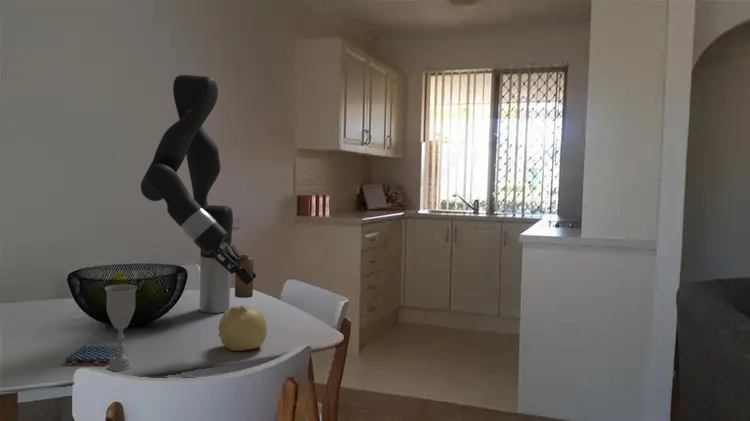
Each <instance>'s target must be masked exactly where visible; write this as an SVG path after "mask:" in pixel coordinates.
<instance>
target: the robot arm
mask: <svg viewBox="0 0 750 421" xmlns="http://www.w3.org/2000/svg"><path fill="white" fill-rule="evenodd" d="M172 92H173V101H174V104H175V108H176V113H177V115H178V118H179V120H177V121H176V122H175V123H173V124H172V125H170V126H169V127H168V128H167V130H166V131H165V132H164V134H163V135H162V138H160V141H159V144H158V146H157V148H156V151H155V154H154V156H153V160H152V161H151V163H150V165H149V166H148V168H147V171H146V172H145V174H144V176H143V178H142V180H141V182H140V190H141V193H142V196H144V198H146V199H147V200H148V201H153V202H159V201H162V200H164V201H165V203H166V210H167V213H168V215H169V217H170V218H171V219H172V220H174V222H176V224H178V226H179V227H180V228H181V229H182V230H183V232H184V234H186V235H187V237H188V238H189V239H190V240H191V241H192V242H193V243H194V244H195V245H196V246H197V248H199V249H200V255H199V256H200V258H199V259H200V261H199V264H200V265H199V266H200V267H199V268H200V269H199V311H200V312H202V313H207V314H210V313H211V314H217V313H218V314H219V313H224V312H225V311H228V310H230V300H231V298H230V296H231V275H236V274H237V276H238V277H239V278H240V279H241V280H242V281H243V282H244V283H245V284H246V285H248V284H249V283H250V282H251V281H252V280H253V281H254V279H255V278H256V277H257V274H256V273H255V271H253V278H252V277H251V275H250V274H249V273H248V272H247V271H246V270H245V269H244V268H243V267H242V265H241V264H240V263H239V262H238V258H240V257H241V253H240V251H239V249H237V248H236V246H235V245H233V244H232V237H233V223H234V216H233V215H234V214H233V209H232V208H231V207H230V206H228V205H215V204H214V205H211V204H209V203H208V195H209V193H210V190H211V189H212V186H213V185H214V183H215V182H216V181H217V179H218V176H219V174H220V172H221V160H220V154H219V153H220V152H219V148H218V146H217V144H216V143H215V141H214V140H213V138H212V137H211V135H210V134H209V133H208V132H207V131H206V130H205V128H203V124H204V123H205V122H206V120H207V118H208V117H209V115H210V114H211V113H212V111H213V110H214V108H215V106H216V103H217V100H218V96H219V89H218V84H217V82H216V80H215V79H214V78H213V77H211V76H206V75H191V74H179V75H177V76H176V77H175V78H174V80H173V87H172ZM185 158H186V161H187V162H186V163H187V167H188V172H189V178H190V182H191V188H192V195H193V197H192V195H191V194H190V193H189V190H188V189H187V187H186V185H185V184H184V182H183V180H182V179H181V177H180V176H179V175H178V173H177V172H178V170H179V169H180V167H181V166H182V164H183V162H184V160H185ZM242 268H243V269H242Z"/></svg>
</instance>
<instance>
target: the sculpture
mask: <svg viewBox="0 0 750 421" xmlns="http://www.w3.org/2000/svg"><path fill="white" fill-rule="evenodd" d="M217 329H218V332H219V333H218V337H219V338H220V341H221V343H222V344H223V346H224V347H226V349H228V350H230V351H235V352H239V351H240V352H241V351H246V350H247V351H248V350H252V349H257V348H259V347H261V346H262V345H263V344H264V342H265V339H266V338H267V334H268V333H267V332H268V324H267V320H266V318H265V317H264V315H263V314H262V312H261V311H259V310H258V309H256V308H254V307H249V306H247V305H246V304H242V305H239V306H232V307H229V310H228V311H225V312H223V316H222V317H220V320H219V324H218V327H217Z"/></svg>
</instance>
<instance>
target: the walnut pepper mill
mask: <svg viewBox="0 0 750 421" xmlns="http://www.w3.org/2000/svg"><path fill="white" fill-rule="evenodd" d="M240 254H241V253H240ZM254 260H255V258H253V257H249V253H247V254H246V253H242V254H241V257H240V258H238V262H239V263H240V264H241V265H242V267H243V268H244V269H245V270H246V271H247V272H248V273H249V274H250V275H251V277H252V278H253V272H254V262H255V261H254ZM243 268H242V269H243ZM234 275H235V274H234ZM253 291H254V279H253V280H252V281H251V282H250V283H249V284H248V285H246V284H245V283H244V282H243V281H242V280H241V279H240V278H239V277H238V276H237V274H236V275H235V276H234V298H240V299H241V298H242V299H248V298H252V297H253V294H254V292H253Z"/></svg>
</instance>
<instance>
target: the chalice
mask: <svg viewBox="0 0 750 421" xmlns="http://www.w3.org/2000/svg"><path fill="white" fill-rule="evenodd" d="M137 289H138V286H137V285H135V284H130V283H129V284H127V283H124V284H123V283H121V284H111V285H108V286H107V285H106V286H105V287H104V290H105V292H106V309H105V310H106V313H107V315H108V319H109V320H110V322H111V325H112V327H113V328H114V329H116V330H117V332H118V334H117V337H116V339H117V341H118V342H117V343H118V344H116V346H115V347H118V354H117V356H115V357H113V359H112V361H111V363H109V364H110V365H108V367H107V369H108V370H109V371H112V372H123V371H127V370H130V369H132V368H133V365H132V362H131V360H130V357H129V356H128V355H125V354H124V353H123V350H124V347H125V346H126V345H125V343H124V342H123V341H124V339H125V336H124V329H126V328H128V326H129V324H130V323H131V319H132V318H133V316H134V313H135V310H136V291H137Z"/></svg>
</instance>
